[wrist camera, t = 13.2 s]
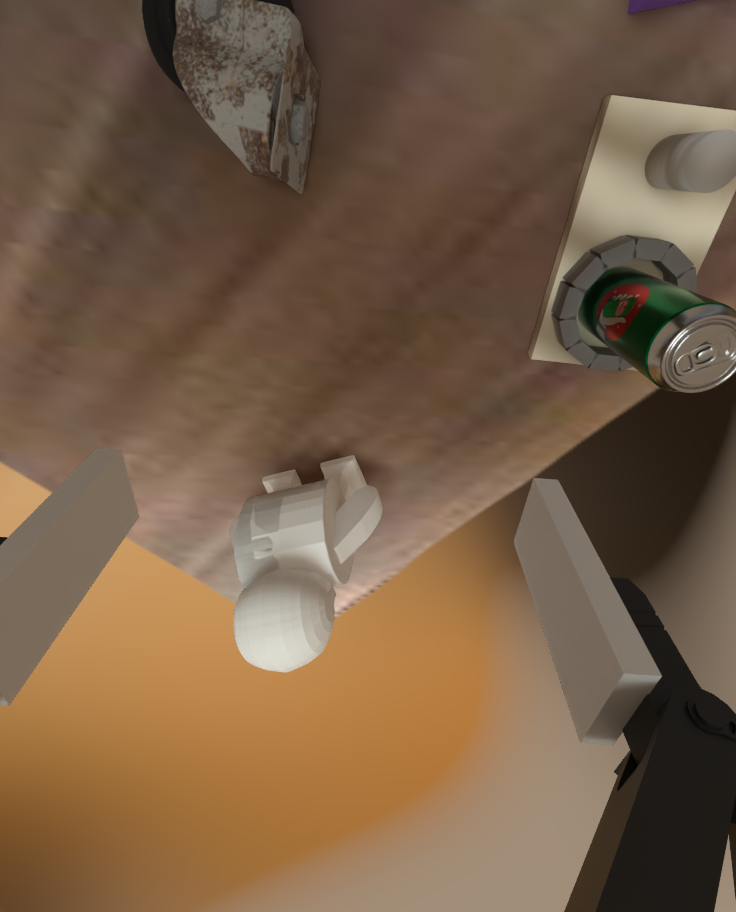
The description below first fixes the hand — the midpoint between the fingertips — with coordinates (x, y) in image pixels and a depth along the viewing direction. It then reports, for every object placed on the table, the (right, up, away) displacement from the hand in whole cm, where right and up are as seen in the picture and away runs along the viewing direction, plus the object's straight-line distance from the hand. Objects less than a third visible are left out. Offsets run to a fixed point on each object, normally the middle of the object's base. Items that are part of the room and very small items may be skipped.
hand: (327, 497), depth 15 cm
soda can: (+20, +13, +20) cm, 31 cm away
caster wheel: (-7, +26, +14) cm, 30 cm away
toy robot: (-4, -1, +31) cm, 32 cm away
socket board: (+20, +16, +19) cm, 32 cm away
